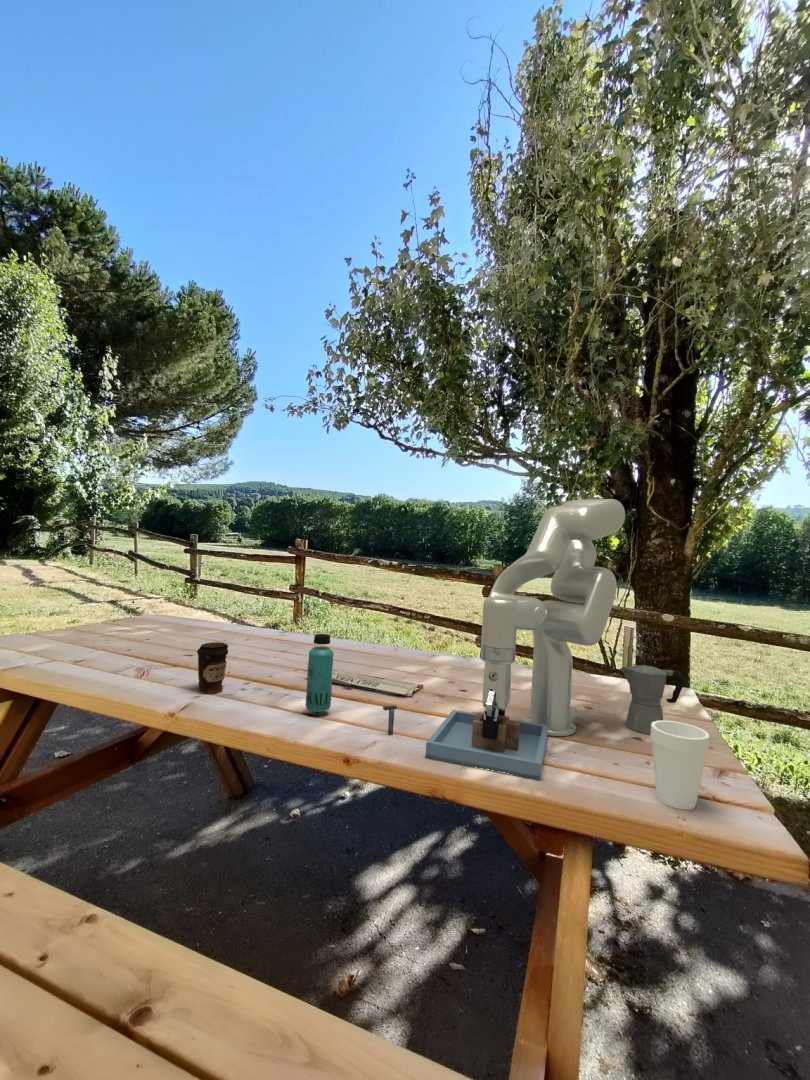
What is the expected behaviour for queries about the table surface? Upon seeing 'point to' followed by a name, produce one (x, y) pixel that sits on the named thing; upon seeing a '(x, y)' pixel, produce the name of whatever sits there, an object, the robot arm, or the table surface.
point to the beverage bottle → (319, 675)
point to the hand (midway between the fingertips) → (493, 731)
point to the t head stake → (390, 717)
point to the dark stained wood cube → (506, 734)
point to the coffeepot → (648, 694)
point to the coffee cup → (211, 666)
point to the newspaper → (374, 683)
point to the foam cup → (678, 762)
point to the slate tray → (457, 748)
